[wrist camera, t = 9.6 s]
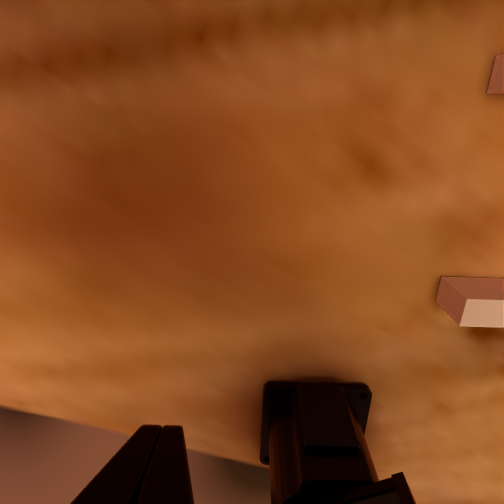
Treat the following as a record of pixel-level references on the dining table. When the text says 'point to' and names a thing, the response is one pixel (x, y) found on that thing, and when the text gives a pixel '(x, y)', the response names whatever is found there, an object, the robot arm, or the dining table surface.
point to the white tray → (472, 288)
